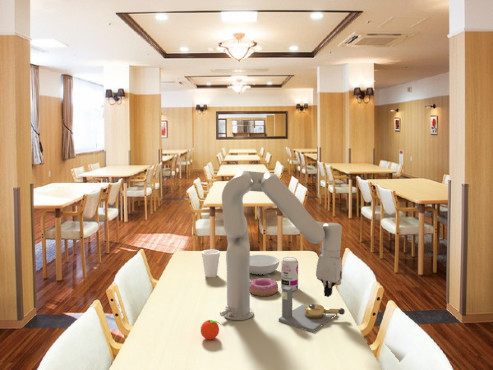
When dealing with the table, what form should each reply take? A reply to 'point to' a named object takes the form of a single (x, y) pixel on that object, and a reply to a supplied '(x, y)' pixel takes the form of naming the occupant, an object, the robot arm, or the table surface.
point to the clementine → (210, 329)
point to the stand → (299, 313)
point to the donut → (263, 287)
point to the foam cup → (210, 262)
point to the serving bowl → (263, 264)
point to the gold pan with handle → (319, 311)
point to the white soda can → (289, 273)
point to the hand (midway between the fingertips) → (327, 295)
